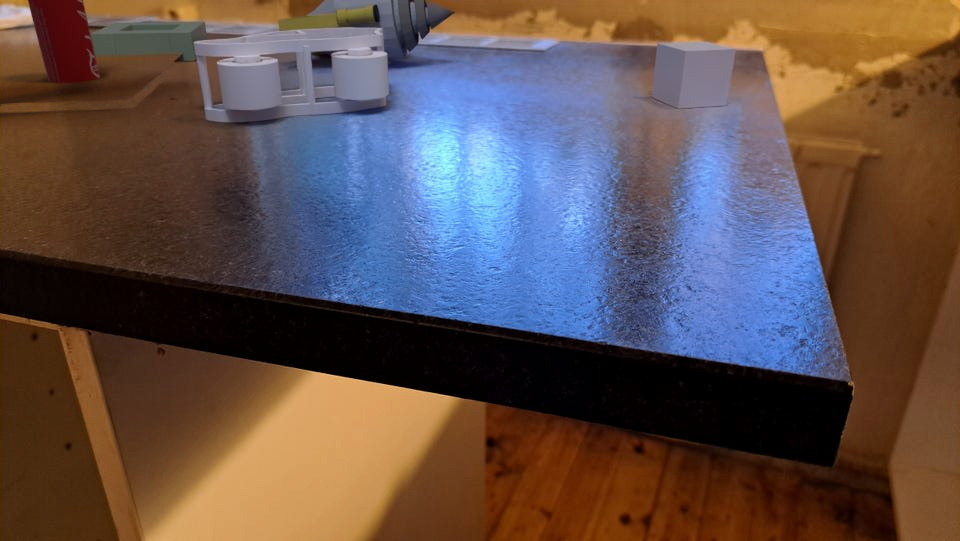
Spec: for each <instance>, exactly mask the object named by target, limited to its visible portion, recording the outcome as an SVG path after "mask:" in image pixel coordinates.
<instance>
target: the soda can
mask: <svg viewBox="0 0 960 541" xmlns="http://www.w3.org/2000/svg"><path fill="white" fill-rule="evenodd" d="M27 4H28V7H29V12H30V15H31V19H32V24H33V27H34V31H35V35H36V39H37V43H38V47H39V50H40V54H41V58H42V62H43V65H44V66H43V67H44V70H45V74H46V77H47V81H48V82H49V83H58V84H68V83H70V84H71V83H72V84H73V83H81V82H82V83H83V82H89V81H93V80H98V79H100V77H101V74H100V70H99V69H100V68H99V66H98V61H97V57H96V56H95V51H94V47H93V42H92V38H91V29H90V25H89V21H88V16H87V12H86V7H85V3H84V0H27Z"/></svg>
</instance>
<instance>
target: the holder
mask: <svg viewBox="0 0 960 541" xmlns="http://www.w3.org/2000/svg"><path fill="white" fill-rule="evenodd" d="M90 34H91V38H92V42H93V47H94V51H95V56H97V57H98V56H100V57H101V56H140V55H141V56H142V55H146V56H147V55H179V56H178V57H177V58H176V59H174V61H173V62H174V63H176V62H177V61H183V62H196V61H197V60H196V59H197V58H196V55H195V49H194V43H193V42H196V41H203V40H209V39H208V32H207V27H206V21H204V20H203V21H202V20H201V21H143V22H140V21H139V22H138V21H137V22H136V21H135V22H133V21H132V22H114V23H111V24H108V25H107V26H105V27H102V28H100V29H97V30H96V31H92V32H90ZM195 60H196V61H195Z"/></svg>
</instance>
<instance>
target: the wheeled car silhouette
mask: <svg viewBox="0 0 960 541" xmlns="http://www.w3.org/2000/svg"><path fill="white" fill-rule="evenodd" d="M193 43H194V49H195V55H196V58H197V60H196V64H197V68H198V74H199V75H198V76H199V80H200V88H201V93H202V100H203V106H204V109H203V110H204V115H205V116H204V117H205V120H206V121H209V122H210V121H211V122H216V123H248V122H260V121H261V122H262V121H269V120H270V121H271V120H275V119H281V118H287V117H299V116H300V117H301V116H315V115H316V116H317V115H318V116H319V115H330V114H331V115H332V114H341V113H342V114H343V113H352V112H357V111H363V110H369V109H375V108H382V107H385V106H387V97H388V96H389V95H390V80H389V64H388V58H387V53H386V52H384V36H383V28H351V27H349V28H323V29H303V30H290V31H280V30H277V31H276V30H275V31H269V32H263V33H255V34H248V35H243V36H239V37H230V38H218V39H217V38H215V39H208V40H203V41H196V42H193ZM376 46H377V51H376V50H371V48H369V47H376ZM334 50H347V51H340V52H335V53H333V54H331V55H330V57H331V68H332V69H331V70H332V82H333V85H328V86H327V85H326V86H315V85H314V84H315V83H314V73H313V62H312V53H311V52H314V51H334ZM285 53H286V54H288V53H295V61H296V62H295V64H296V70H297V71H296V72H297V81H298V88H296V89H288V90H282V86H281V85H282V84H281V74H280V67H279V59H277V58H276V57H271V56H264V55H273V54H285ZM262 55H263V56H262ZM206 57H211V58H212V57H213V58H214V57H215V58H219V57H220V58H223V59H219V60H217V61H216V68H217V75H218V82H219V88H220V95H221V101H222V103H217V104H214V102H213V96H212V91H211V84H210V83H211V82H210V78H209V72H208V71H209V70H208V64H207V59H206ZM225 57H227V58H225ZM228 57H230V58H228ZM322 98H338V99H341V100H335V101H334V100H333V101H322V102H316V99H322ZM342 99H343V100H342Z"/></svg>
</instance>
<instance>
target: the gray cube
mask: <svg viewBox="0 0 960 541" xmlns="http://www.w3.org/2000/svg"><path fill="white" fill-rule="evenodd" d="M655 51H656V52H655V61H654V70H653V79H652V89H651V98H652V99H655V100H657V101H659V102H661V103H663V104H665V105H666V104H667V105H668V106H671V107H673V108H675V109H677V110H679V109H695V108H710V107H712V108H714V107H726V106H728V100H729V95H730V89H731V82H732V76H733V69H734V63H735V58H736V57H735V56H736V51H737V49H736V48H733V47H729V46H725V45H721V44H716V43H713V42H709V41H705V40H704V41H703V40H702V41H680V42H675V41H674V42H657V43H656V50H655Z"/></svg>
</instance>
